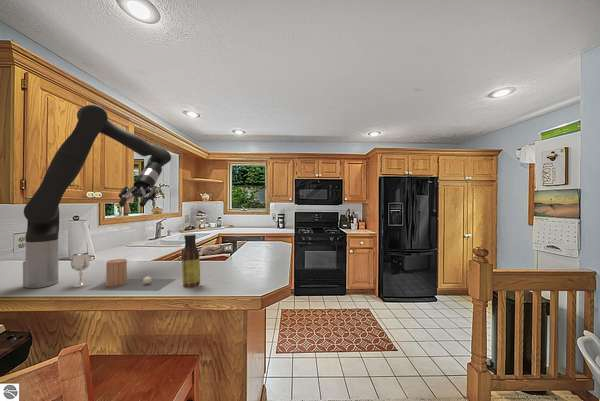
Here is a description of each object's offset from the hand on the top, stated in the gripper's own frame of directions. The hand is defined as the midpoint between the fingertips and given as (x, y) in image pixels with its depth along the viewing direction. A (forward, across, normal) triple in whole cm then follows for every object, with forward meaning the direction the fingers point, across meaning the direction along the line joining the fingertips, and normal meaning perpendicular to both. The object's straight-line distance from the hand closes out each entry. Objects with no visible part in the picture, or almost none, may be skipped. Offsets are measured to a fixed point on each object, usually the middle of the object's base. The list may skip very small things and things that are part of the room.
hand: (130, 205), depth 112 cm
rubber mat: (+28, +7, +16) cm, 33 cm away
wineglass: (+28, -14, +16) cm, 35 cm away
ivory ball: (+27, +12, +15) cm, 34 cm away
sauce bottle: (+28, +29, +16) cm, 43 cm away
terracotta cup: (+27, 0, +15) cm, 31 cm away
